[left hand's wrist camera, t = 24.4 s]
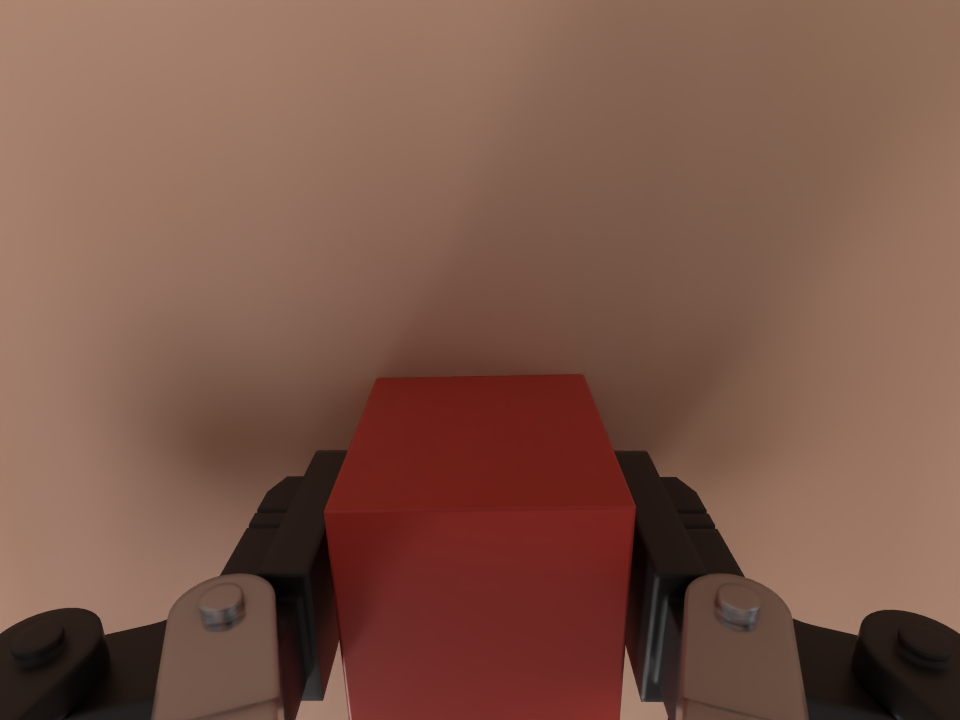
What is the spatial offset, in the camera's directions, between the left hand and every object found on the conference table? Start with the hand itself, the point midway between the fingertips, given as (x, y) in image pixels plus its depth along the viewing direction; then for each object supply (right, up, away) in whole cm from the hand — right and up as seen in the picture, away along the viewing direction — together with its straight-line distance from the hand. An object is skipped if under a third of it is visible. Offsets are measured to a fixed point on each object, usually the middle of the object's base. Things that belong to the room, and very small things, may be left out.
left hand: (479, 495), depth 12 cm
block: (0, 0, +1) cm, 1 cm away
